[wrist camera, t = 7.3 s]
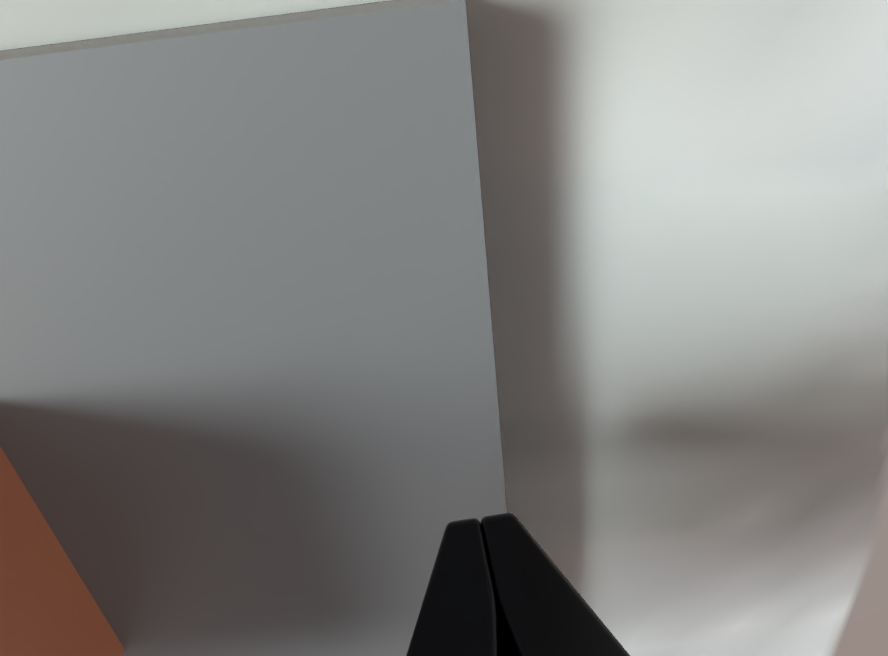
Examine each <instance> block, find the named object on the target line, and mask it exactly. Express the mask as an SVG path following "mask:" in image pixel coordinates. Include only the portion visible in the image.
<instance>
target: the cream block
mask: <svg viewBox="0 0 888 656" xmlns="http://www.w3.org/2000/svg"><path fill="white" fill-rule="evenodd" d="M124 650H125V649H124V648H123V646H122V644H121V643H120V641H119V639H118V638H117V636H116V634H115V633H114V631H113V630H112V628H111V626H110V625H109V623H108V621H107V620H106V618H105V616H104V615H103V613H102V612H101V610H100V608H99V607H98V605H97V603H96V602H95V600H94V599H93V597H92V595H91V594H90V592H89V590H88V589H87V587H86V585H85V584H84V582H83V581H82V579H81V577H80V576H79V574H78V572H77V571H76V569H75V567H74V566H73V564H72V563H71V561H70V559H69V558H68V556H67V554H66V553H65V551H64V550H63V548H62V546H61V545H60V543H59V541H58V540H57V538H56V536H55V535H54V533H53V532H52V530H51V528H50V527H49V525H48V523H47V522H46V520H45V518H44V517H43V515H42V514H41V512H40V510H39V509H38V507H37V505H36V504H35V502H34V501H33V499H32V497H31V496H30V494H29V492H28V491H27V489H26V487H25V486H24V484H23V483H22V481H21V479H20V478H19V476H18V474H17V473H16V471H15V469H14V468H13V466H12V465H11V463H10V461H9V460H8V458H7V456H6V455H5V453H4V452H3V450H2V448H1V447H0V656H123V653H124Z"/></svg>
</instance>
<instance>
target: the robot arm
mask: <svg viewBox="0 0 888 656" xmlns="http://www.w3.org/2000/svg"><path fill="white" fill-rule="evenodd" d="M406 656H630V655H629V654H628V653H627V651H626V650H625V649H624V648H623V647H622V645H621V644H620V643H619V642H618V640H617V639H616V638H615V637H614V636H613V634H612V633H611V632H610V631H609V629H608V628H607V627H606V626H605V625H604V623H603V622H602V621H601V620H600V619H599V617H598V616H597V615H596V614H595V612H594V611H593V610H592V609H591V608H590V606H589V605H588V604H587V603H586V602H585V600H584V599H583V598H582V597H581V595H580V594H579V593H578V592H577V591H576V589H575V588H574V587H573V586H572V584H571V583H570V582H569V581H568V580H567V578H566V577H565V576H564V575H563V574H562V572H561V571H560V570H559V569H558V567H557V566H556V565H555V564H554V563H553V561H552V560H551V559H550V558H549V556H548V555H547V554H546V553H545V552H544V550H543V549H542V548H541V547H540V546H539V544H538V543H537V542H536V541H535V539H534V538H533V537H532V536H531V535H530V533H529V532H528V531H527V530H526V528H525V527H524V526H523V525H522V524H521V522H520V521H519V520H518V519H517V518H516V517H515V516H514V515H513V514H511V513H503V514H497V515H490V516H485V517H483V518H482V520H481V524H480V521H479V520H478V519H476V518H471V519H464V520H458V521H452V522H449V523H448V524H447V526H446V528H445V531H444V534H443V537H442V540H441V544H440V547H439V550H438V554H437V557H436V560H435V563H434V567H433V570H432V573H431V576H430V580H429V583H428V586H427V589H426V593H425V596H424V599H423V603H422V606H421V609H420V612H419V616H418V619H417V622H416V625H415V629H414V632H413V635H412V638H411V642H410V645H409V648H408V652H407V655H406Z"/></svg>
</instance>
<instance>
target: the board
mask: <svg viewBox="0 0 888 656" xmlns="http://www.w3.org/2000/svg"><path fill="white" fill-rule="evenodd" d="M0 447H1V448H2V450H3V452H4V453H5V455H6V456H7V458H8V460H9V461H10V463H11V465H12V466H13V468H14V469H15V471H16V473H17V474H18V476H19V478H20V479H21V481H22V483H23V484H24V486H25V487H26V489H27V491H28V492H29V494H30V496H31V497H32V499H33V501H34V502H35V504H36V505H37V507H38V509H39V510H40V512H41V514H42V515H43V517H44V518H45V520H46V522H47V523H48V525H49V527H50V528H51V530H52V532H53V533H54V535H55V536H56V538H57V540H58V541H59V543H60V545H61V546H62V548H63V550H64V551H65V553H66V554H67V556H68V558H69V559H70V561H71V563H72V564H73V566H74V567H75V569H76V571H77V572H78V574H79V576H80V577H81V579H82V581H83V582H84V584H85V585H86V587H87V589H88V590H89V592H90V594H91V595H92V597H93V599H94V600H95V602H96V603H97V605H98V607H99V608H100V610H101V612H102V613H103V615H104V616H105V618H106V620H107V621H108V623H109V625H110V626H111V628H112V630H113V631H114V633H115V634H116V636H117V638H118V639H119V641H120V643H121V644H122V646H123V648H124V649H125V650H124V653H123V656H406V655H407V652H408V648H409V645H410V642H411V638H412V635H413V632H414V629H415V625H416V622H417V619H418V616H419V612H420V609H421V606H422V603H423V599H424V596H425V593H426V589H427V586H428V583H429V580H430V576H431V573H432V570H433V567H434V563H435V560H436V557H437V554H438V550H439V547H440V544H441V540H442V537H443V534H444V531H445V528H446V526H447V524H448V523H449V522H452V521H458V520H464V519H471V518H476V519H478V520H479V521H480V524H481V520H482V518H483V517H485V516H490V515H497V514H503V513H507V505H506V493H505V481H504V468H503V456H502V444H501V432H500V419H499V407H498V395H497V382H496V370H495V358H494V345H493V333H492V321H491V309H490V296H489V284H488V272H487V259H486V247H485V235H484V222H483V210H482V198H481V185H480V173H479V161H478V149H477V136H476V124H475V112H474V99H473V87H472V75H471V62H470V50H469V38H468V25H467V13H466V1H465V0H391V1H383V2H375V3H368V4H360V5H352V6H344V7H337V8H329V9H321V10H313V11H306V12H298V13H290V14H282V15H275V16H267V17H259V18H251V19H244V20H236V21H228V22H220V23H213V24H205V25H197V26H189V27H182V28H174V29H166V30H158V31H151V32H143V33H135V34H127V35H120V36H112V37H104V38H96V39H89V40H81V41H73V42H65V43H58V44H50V45H42V46H34V47H27V48H19V49H11V50H3V51H0Z"/></svg>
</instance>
